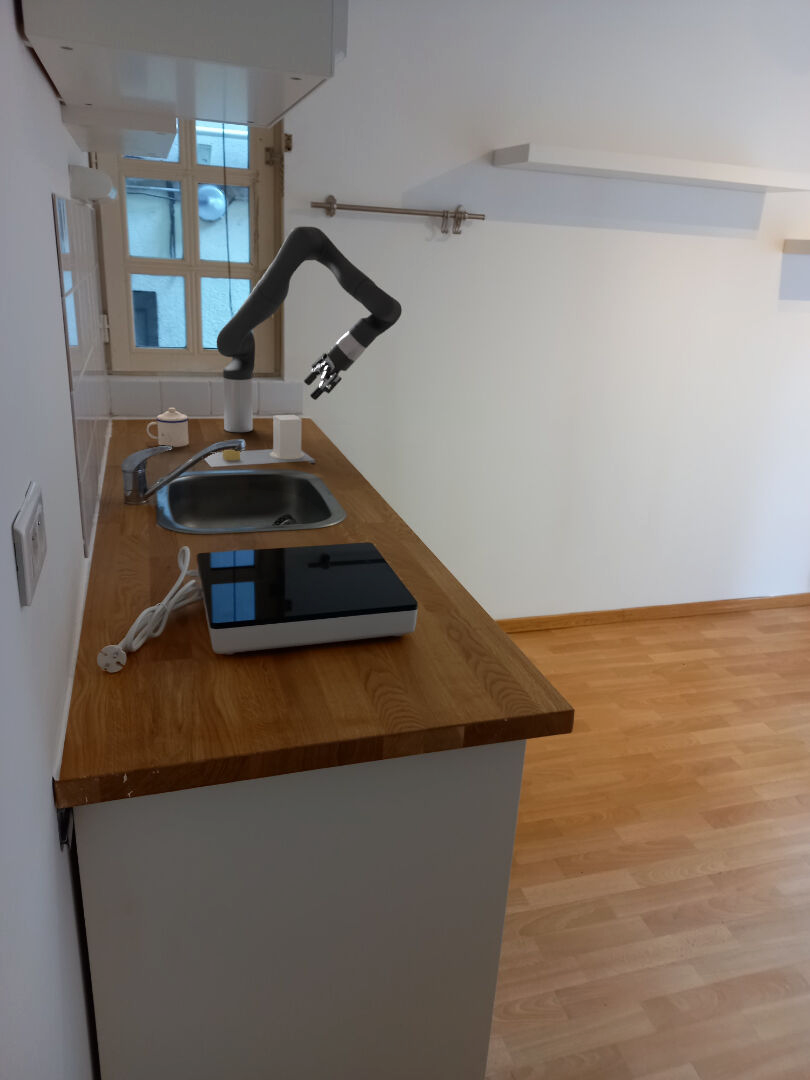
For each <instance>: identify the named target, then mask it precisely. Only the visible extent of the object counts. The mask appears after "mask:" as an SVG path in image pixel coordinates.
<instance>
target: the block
mask: <svg viewBox="0 0 810 1080" xmlns="http://www.w3.org/2000/svg"><path fill="white" fill-rule="evenodd" d="M240 451H241V450H240ZM240 451H235V450H224V451H222V452H223V458H224V459H225V460H226V461H227V460H240Z"/></svg>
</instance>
